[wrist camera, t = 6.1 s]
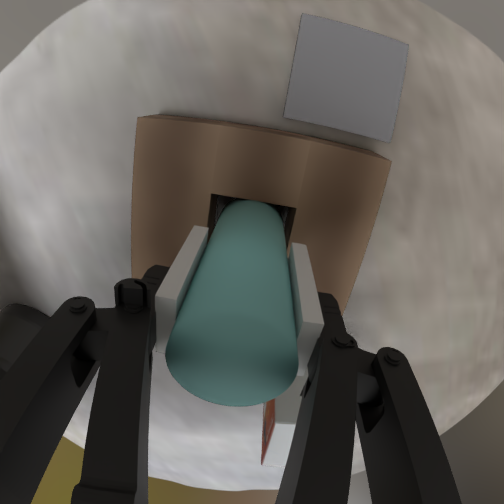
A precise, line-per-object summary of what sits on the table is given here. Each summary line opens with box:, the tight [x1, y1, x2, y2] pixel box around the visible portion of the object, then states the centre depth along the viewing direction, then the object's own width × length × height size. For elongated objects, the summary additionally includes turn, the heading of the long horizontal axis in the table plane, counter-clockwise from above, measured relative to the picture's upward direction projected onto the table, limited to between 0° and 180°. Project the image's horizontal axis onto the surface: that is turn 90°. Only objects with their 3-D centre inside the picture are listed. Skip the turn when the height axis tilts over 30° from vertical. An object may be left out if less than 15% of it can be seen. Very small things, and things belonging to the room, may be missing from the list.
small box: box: [261, 367, 308, 467], centre depth 26 cm, size 8×6×10 cm
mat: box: [283, 13, 409, 143], centre depth 19 cm, size 8×8×1 cm
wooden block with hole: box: [131, 115, 392, 315], centre depth 23 cm, size 16×14×4 cm
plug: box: [165, 198, 299, 406], centre depth 16 cm, size 4×4×13 cm
